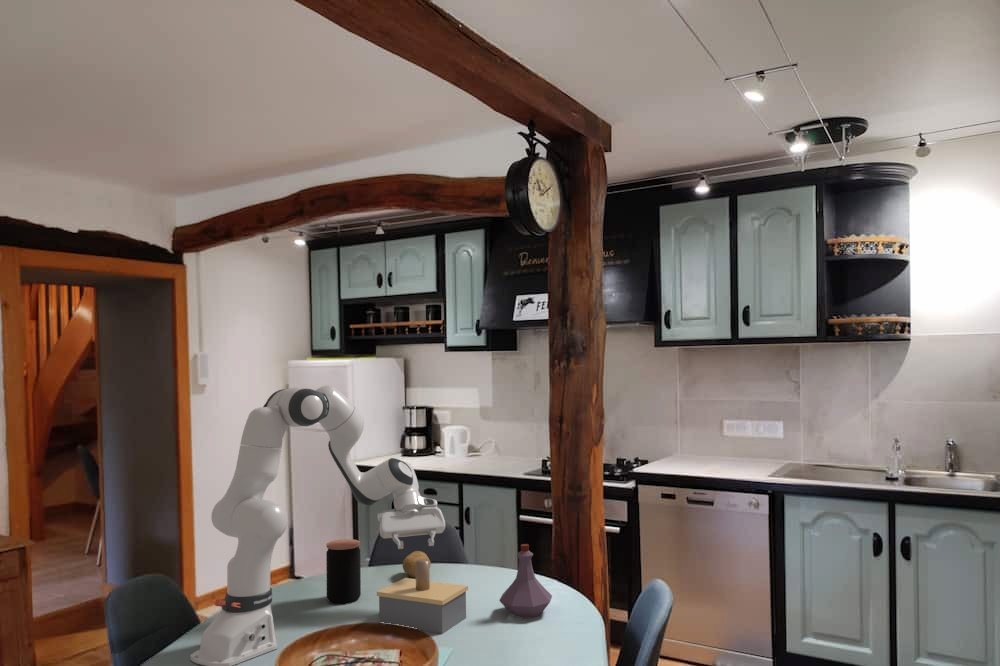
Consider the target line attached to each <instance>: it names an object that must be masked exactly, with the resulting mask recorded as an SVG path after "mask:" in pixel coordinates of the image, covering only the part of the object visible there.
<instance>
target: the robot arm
mask: <svg viewBox="0 0 1000 666" xmlns="http://www.w3.org/2000/svg"><path fill="white" fill-rule="evenodd" d="M317 423H319V424H320V425H321V427H322V428H323V429H324V430H325V431H326V433H327V435H328V437H329V441H328V445H327V446H328V451H329V452H330V453H329V454H330V455H331V458H332V460H333V461H334V462H335V464H336V466H337V468H338V469H339V471H340V472H341V474H342V476H343V477H344V479H345V481H346V482H347V484H348V486H349V488H350V491H351V492H352V495H353V497H354V499H355V500H356V502H358V503H360V504H362V505H365V506H369V507H370V506H373V505H374V504H375V503H377V502H378V501H380V500H381V499H382V498H384V497H386V496H388V495H391V494H392V495H393V506H394V508H392V509H391V508H390V509H382V510H380V511H378V512H377V514H376V519H377V521H378V523H379V535H380V537H381V538H382V539H392V541H393V542H394V543H395V544H396V545H397V549H398V550H402V549H404V546H405V545H404V540H400V539H399V538H406V537H412V536H413V537H414V536H415V537H416V536H423V535H424V536H425V535H429V536H430V538H428V540H427V543H428V547H434V545H435V539H434V538H435V537H436V534H442V533H444V531H445V529H446V521H445V517H444V514H443V512H442V510H441V508H440V507H438V501H437V500H436V499H433V498H428V497H425V496H421V493H420V491H419V489H420V488H419V487H420V486H419V482H418V478H417V475H416V471H415V470H414V468H413V466H412V464H411V463H409V462H408V461H403V460H401V459H398V458H394V457H391V458H388V459H387V460H385V461H383V462H381V463H379V464H377V465H376V466H375V467H372V468H371V469H369V470H368V471H365V472H363V471H362V472H361V471H360V469H359V468H358V466H357V465H356V463H355V461H354V460H353V458H352V456H351V455H350V451H351V450H352V449H353V447H354V446H355V445H356V444H357V442H359V439H360V438H361V436H362V433H363V432H364V431H363V430H364V427H365V425H364V424H365V422H364V418H363V416H362V414H361V413H360V411H359V410H358V409H357V408H356V406H355V405H354V404H353V403H352V402H351V400H349V399H348V398H347V396H345V395H344V394H343V393H342V392H341V391H339V390H338V388H336V387H334V386H332V385H322V386H320V387H319V388H317V389H315V390H314V389H312V388H298V387H291V388H283V389H279V390H276V391H275V392H273V393H272V394H271V395H270V396H269V397H268V398H267V401H266V402H265V404H264V405H263V406H260V407H257V408H254V409H253V410H251V411H250V412H249V414H248V416H247V419H246V422H245V425H244V428H243V430H242V431H243V432H242V433H241V434H242V435H241V438H240V443H239V444H240V445H239V450H238V455H237V461H236V466H235V471H234V473H233V476H232V480H231V481H230V484H229V486H228V487H227V490H226V492H225V493H224V496H223V497H222V498H221V499H219V501H217V502H216V503H215V505H214V506H213V509H212V511H211V516H210V517H211V518H210V519H211V522H212V526H213V527H214V528H215V529H216V530H217V531H219V532H221V533H222V534H224V535H226V536H228V537H232V538H237V539H238V540H237V542H238V543H237V546H236V550H235V554H234V555H233V557H232V558H231V559H230V560H229V561H228V563H227V567H226V568H227V569H226V570H227V571H226V573H227V577H226V583H227V587H226V590H227V592H225V595H224V598H220V597H217V598H215V600H214V602H213V603H214V606H215V607H221V610H220V612H218V614H217V615H216V617H215V618H213V620H212V621H211V623H210V624H209V625H208V626H207V628H205V629H204V630H203V632H202V635H201V639H200V644H199V645H200V648H199V649H198V650H196V651H194V652H193V653H191V654H190V656H189V657H190V658H189V659H190V661H192V662H193V663H194V664H197V665H201V666H235V665H236V664H240V663H243V662H246V661H247V660H250V659H253V658H256V657H258V656H261V655H264V654H266V653H268V652H269V653H270V652H272V651H274V650H276V649H278V643H277V636H276V632H275V626H274V617H273V616H274V615H273V612H272V605H271V603H272V602H273V589H272V587H271V564H272V557H273V552H274V549H275V546H276V544H277V542H278V540H279V539H280V538H281V537H282V536H283V535H284V534H285V532H286V530H287V527H288V523H289V521H288V519H289V518H288V514H287V512H286V510H285V509H284V507H282V506H281V505H279V504H277V503H275V502H274V501H272V500H267V499H263V498H264V495H265V492H266V490H267V488H268V487H269V485H271V483H272V482H274V481H275V479H276V478H277V477H278V473H279V465H280V461H281V460H280V459H281V455H282V454H281V453H282V447H283V439H284V436H285V434H286V431H287V430H288V428H289V427H292V428H296V427H297V428H298V427H299V428H300V427H310V426H311V427H312V426H313V425H315V424H317Z"/></svg>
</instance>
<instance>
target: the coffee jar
mask: <svg viewBox="0 0 1000 666" xmlns="http://www.w3.org/2000/svg"><path fill="white" fill-rule="evenodd" d="M360 545H361V541H360V540H357V539H355V538H354V539H351V538H346V539H345V538H342V539H335V540H331V541H329V542H327V543H326V549H327V550H326V556H325V557H326V558H325V559H326V560H325V561H326V599H327V601H328V603H330V604H332V605H348V603H349V604H352V602H353V603H355V602H358V600H359V598H360V597H361V595H362V593H361V589H362V588H361V585H362V584H361V577H362V576H361V572H362V571H361V549H360Z"/></svg>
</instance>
